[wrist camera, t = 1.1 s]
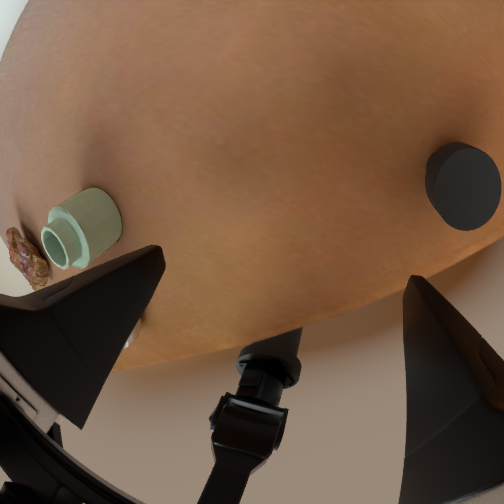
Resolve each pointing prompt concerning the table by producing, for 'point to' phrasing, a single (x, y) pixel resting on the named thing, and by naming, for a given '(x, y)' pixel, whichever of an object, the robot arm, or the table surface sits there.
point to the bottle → (81, 229)
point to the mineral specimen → (27, 259)
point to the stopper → (463, 185)
